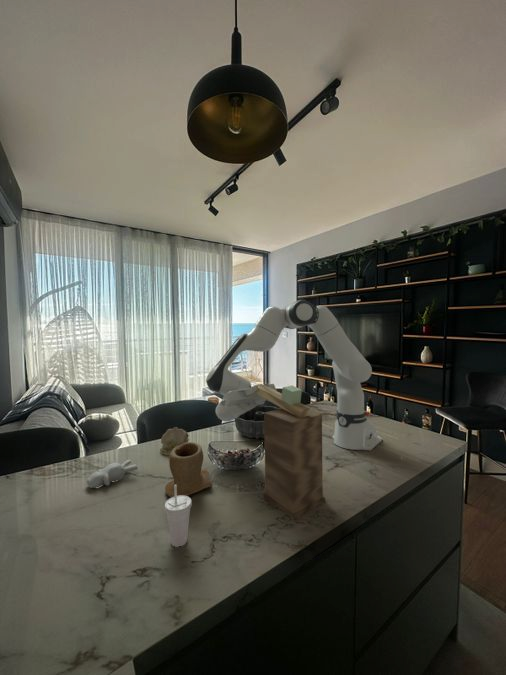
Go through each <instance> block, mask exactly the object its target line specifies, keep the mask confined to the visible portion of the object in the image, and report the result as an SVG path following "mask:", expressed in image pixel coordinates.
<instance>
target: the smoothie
mask: <svg viewBox="0 0 506 675" xmlns="http://www.w3.org/2000/svg"><path fill="white" fill-rule="evenodd" d="M174 495H175V497H170V498H168V499H167V500H166V501H165V503H164V512H166V517H167V518H166V520H167V524H168V531H169V535H170V542H171V545H172V547H174V546H175V548H180V547H179V546H181V547H184V545H186V543H188V536H189V535H188V534H189V523H190V515H191V514H190V513H191V508H192V505H193V504H192V498H191V497H189V495H188V496H184V495H179V496H177V485H174Z"/></svg>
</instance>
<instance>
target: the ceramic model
mask: <svg viewBox="0 0 506 675" xmlns="http://www.w3.org/2000/svg"><path fill="white" fill-rule="evenodd" d="M189 436H190V435H189V434H188V431H186V430H185V429H183V428H178V427H177V426H174V427H173V428H168V429H166V432H165V433H163V434H162V437H161V440H160V444H162V447H161V448H160V449H159V453H160V454H161V453H162V454H161V455H163V454H164V456H170V453H171V451H172V450H173V449H174V448H175V447H177V446H179V445H181V444H183V443H188V442H190V441H189Z"/></svg>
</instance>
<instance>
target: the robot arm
mask: <svg viewBox="0 0 506 675" xmlns="http://www.w3.org/2000/svg"><path fill="white" fill-rule="evenodd" d="M306 326H307V327H309V328H310V329H311V330H312V332H313V334H314V335H315V337H316V338H317V341H318V342H319V343H320V345H321V346H322V348H323V350H324V351H325V353H326V354H327V355H328V356H329V357H330V359H331V360H332V362H331V366H332V369H333V373H334V380H335V387H336V392H337V393H336V394H337V395H336V396H337V398H336V399H337V402H336V403H337V410H336V414H335V415H336V420H335V422H334V433H333V435H332V439H333V442H334V444H335V445H337V446H338V447H340V448H342V449H345V450H346V449H347V450H353V451H354V450H357V451H361V450H363V451H372V450H373V449H374V448H375V447H377V446H378V445H379V443H381V442H382V441H383V437H381V436H380V435H377V429H376V426H374V424H372V423H371V422H370V421H369V420H368V418H367V417H369V416H371V415H370V414H371V411H368V410H365V394H364V390H363V388H362V385H361V384H362V383H365V382H367V381H368V380H369V379H370V377H371V376H372V373H373V368H372V366H371V364H370V362H368V360H366V358H365V356H363V354H362V353H361V352H360V351H359V349H358V348H357V347H356V346H355V344H354V343H353V342H352V341H351V340H350V339H349V337H348V336H347V334H346V332H345V330H344V329H343V327H342V326H341V324H340V323H339V321H338V319H337V317H336V316H335V315H334V314H333V313H332V311H331V310H330V309H329V308H328V307H327V306H325V305H320V304H319V305H314V304H313V303H311V302H310V301H308V300H305V299H299V300H296V301H292V302H291V303H289V304H288V305H287V306H284V307H283V308H280V307H277V306H268V307H267V308H265V310H264V311H263V312H262V313H261V315H260V316H259V318H258V319H257V321H256V323H255V324H254V327H253V328H252V329H250V331H249V332H247V333H242V334H240V336H238V338H236V339H235V341H234V342H233V344H231V345H230V346H229V348H228V349H227V351H226V352H225V353H224V355H223V356H222V357H221V359H219V361H218V362H217V364H216V365H214V367H213V368H212V369H210V371H209V373H208V374H207V376H206V379H205V382H206V385H207V387H208V389H209V390H210V391H212V392H215V393H219V394H221V395H222V396H223V397H222V400H221V401H220V402H219V403H218V404H217V406H216V407H215V415H216V417H217V418H218V419H219V420H221V421H223V422H231V421H233V420H234V421H235V419H236V418H237V417H239V416H240V415H242V414H244V413H246V412H247V411H250V410H251V409H253V408H255V407H257V406H264V404H265V402H266V401H267V400H266V399H264V398H263V397H261V396H259V395H257V394H255V393H254V392H257V391H258V390H259V388H258V386H257V385H258V384H255V385H256V386H254V385H252V384H251V382H250V380H248V379H246V378H245V377H243V376H241V375H238V374H237V373H234V372H233V371H231V370H229V367H230V366H231V365H232V364H233V362H234V361H235V360H236V358H237V357H238V356H239V355H240V353H242V352H246V351H252V352H257V353H258V352H267V351H270V350H271V349H273V347H274V346H275V345H276V343H277V341H278V340H279V337H280V335H281V334H282V331H283V330H284V329H290V330H294V329H302V328H303V327H306ZM263 385H265V386H267V387H269V388H271V389H273V390H275V391H277V388H276V385H275V384H274V383H268V382H267V383H264V384H263ZM277 392H278V391H277Z"/></svg>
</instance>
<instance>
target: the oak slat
mask: <svg viewBox="0 0 506 675" xmlns="http://www.w3.org/2000/svg"><path fill="white" fill-rule="evenodd" d="M256 385H257V386H258V388H259V390H258V391H257V392H254V393H255V394H257V395H259V396H261V397H263V398H264V399H266V401H268V402H270V403H272V404H274V405H275V406H277V407H278V408H282V409H284V410H286V411H288V412H290V413H291V414H293V415H295V416H297V417H299V418H303V417H307V416H309V411H311V410H310V407H309V406H307V405H305V404H303V403H301V402H300V403H296V404H292V405H290V404H288V403H286V402H284V401H282V400H281V398H282V392H279V391H275V390H273V389H271V388H269V387H267V386H265V385H264V384H263V383H259V384H253V386H256Z"/></svg>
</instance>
